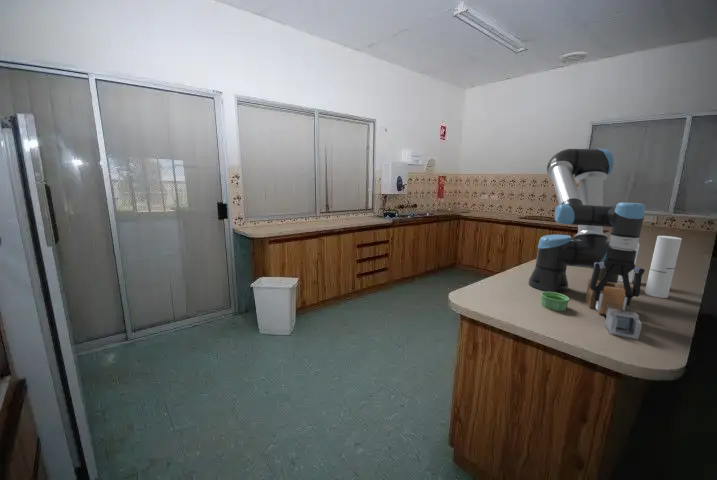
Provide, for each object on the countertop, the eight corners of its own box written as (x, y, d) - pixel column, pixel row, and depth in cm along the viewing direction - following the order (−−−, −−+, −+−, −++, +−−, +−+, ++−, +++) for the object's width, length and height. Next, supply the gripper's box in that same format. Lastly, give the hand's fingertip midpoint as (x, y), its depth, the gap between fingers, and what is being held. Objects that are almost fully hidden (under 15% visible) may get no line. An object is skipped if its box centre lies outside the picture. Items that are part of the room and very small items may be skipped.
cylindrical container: (672, 298, 127) (686, 239, 122) (652, 296, 129) (665, 238, 124) (659, 292, 134) (672, 236, 129) (640, 290, 136) (653, 235, 130)
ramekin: (538, 300, 122) (539, 290, 121) (564, 304, 118) (566, 293, 117) (541, 309, 114) (543, 298, 113) (570, 313, 110) (572, 302, 109)
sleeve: (609, 333, 96) (613, 315, 95) (604, 325, 101) (608, 308, 100) (638, 339, 93) (642, 320, 92) (631, 331, 98) (635, 312, 97)
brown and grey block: (608, 328, 99) (614, 299, 97) (594, 306, 116) (599, 281, 114) (632, 333, 96) (639, 303, 94) (614, 309, 114) (619, 284, 112)
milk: (630, 280, 150) (640, 236, 145) (631, 283, 145) (641, 238, 141) (614, 277, 154) (624, 234, 149) (614, 280, 149) (624, 236, 144)
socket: (589, 308, 115) (593, 285, 114) (585, 300, 122) (589, 279, 121) (623, 314, 111) (628, 290, 109) (616, 306, 118) (621, 283, 116)
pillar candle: (613, 288, 137) (620, 256, 134) (587, 282, 145) (593, 251, 142) (618, 284, 143) (625, 253, 140) (593, 279, 151) (599, 249, 148)
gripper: (590, 246, 106) (579, 309, 110) (663, 254, 97) (648, 321, 102) (586, 243, 112) (575, 302, 117) (654, 249, 104) (640, 313, 109)
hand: (609, 311), depth 110 cm, fingers closed on brown and grey block, 6 cm apart
